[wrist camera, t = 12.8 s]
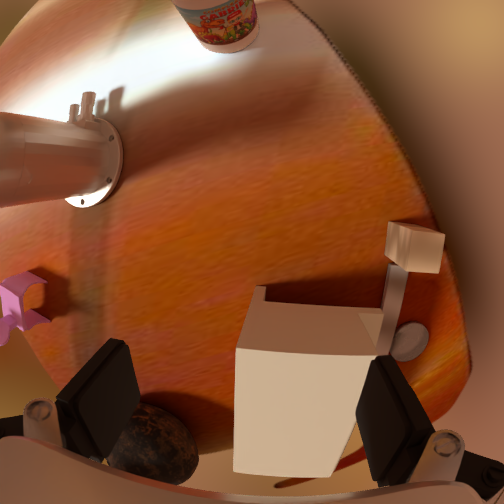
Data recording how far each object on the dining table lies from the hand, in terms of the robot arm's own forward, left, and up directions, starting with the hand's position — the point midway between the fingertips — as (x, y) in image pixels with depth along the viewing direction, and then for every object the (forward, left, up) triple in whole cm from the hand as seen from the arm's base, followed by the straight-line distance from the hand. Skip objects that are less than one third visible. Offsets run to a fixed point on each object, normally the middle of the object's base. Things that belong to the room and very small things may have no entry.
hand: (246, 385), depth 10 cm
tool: (+6, +15, -24) cm, 29 cm away
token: (+11, +19, -24) cm, 33 cm away
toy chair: (+12, -41, -24) cm, 49 cm away
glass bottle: (+34, -18, -24) cm, 45 cm away
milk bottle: (-27, -7, -24) cm, 37 cm away
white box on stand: (+14, +5, -24) cm, 28 cm away
